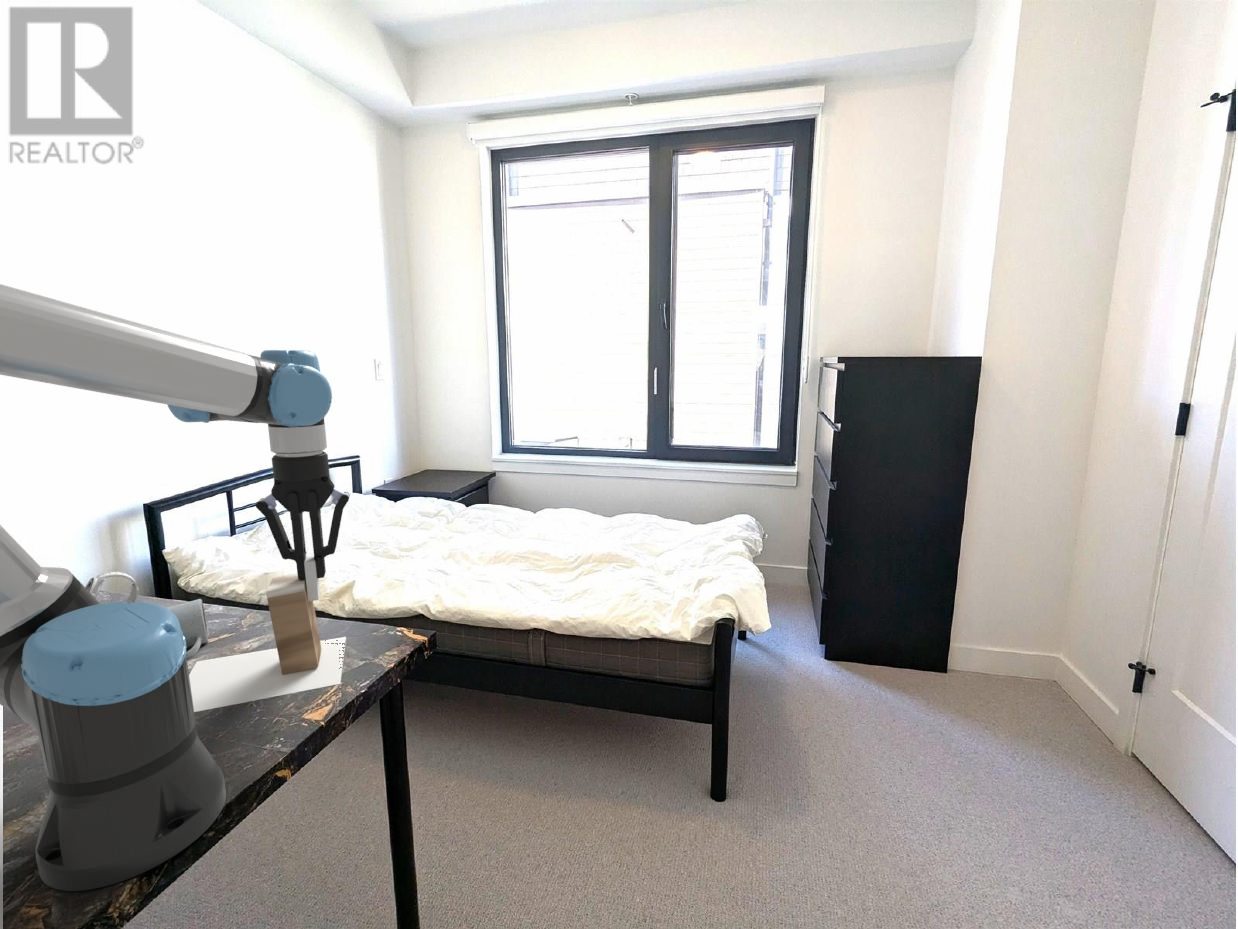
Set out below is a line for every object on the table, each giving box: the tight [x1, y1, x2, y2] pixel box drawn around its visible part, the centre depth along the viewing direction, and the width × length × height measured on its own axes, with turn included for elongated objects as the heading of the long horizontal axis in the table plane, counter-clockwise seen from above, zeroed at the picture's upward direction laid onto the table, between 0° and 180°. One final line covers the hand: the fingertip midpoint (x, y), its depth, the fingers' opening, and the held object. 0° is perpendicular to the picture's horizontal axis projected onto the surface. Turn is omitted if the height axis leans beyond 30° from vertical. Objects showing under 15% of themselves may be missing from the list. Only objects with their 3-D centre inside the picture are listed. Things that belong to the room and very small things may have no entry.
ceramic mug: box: [166, 598, 210, 659], centre depth 95 cm, size 11×8×8 cm
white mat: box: [189, 636, 347, 713], centre depth 89 cm, size 16×22×1 cm
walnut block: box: [265, 573, 322, 675], centre depth 90 cm, size 6×5×14 cm
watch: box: [84, 571, 140, 604], centre depth 102 cm, size 6×8×11 cm
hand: (314, 597), depth 90 cm, fingers closed
